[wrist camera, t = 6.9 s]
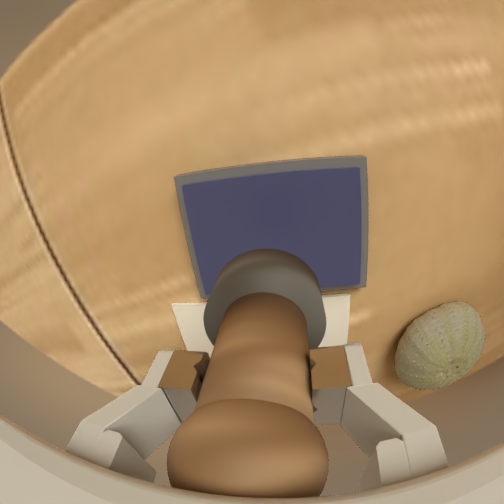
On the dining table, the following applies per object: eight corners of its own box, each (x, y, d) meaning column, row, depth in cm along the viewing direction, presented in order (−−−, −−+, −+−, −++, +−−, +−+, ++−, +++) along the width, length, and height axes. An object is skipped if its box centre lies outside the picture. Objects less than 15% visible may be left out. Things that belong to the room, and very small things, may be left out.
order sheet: (349, 293, 20) (350, 295, 20) (340, 391, 25) (341, 394, 25) (172, 303, 22) (171, 305, 22) (205, 394, 27) (205, 397, 27)
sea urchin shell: (397, 316, 19) (488, 351, 13) (429, 274, 23) (500, 298, 17) (378, 391, 22) (446, 425, 16) (412, 346, 26) (471, 370, 21)
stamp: (319, 243, 10) (375, 507, 2) (320, 334, 12) (337, 538, 4) (205, 253, 11) (85, 476, 3) (225, 339, 13) (174, 529, 4)
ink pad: (362, 155, 16) (368, 157, 15) (362, 280, 20) (367, 290, 18) (179, 174, 18) (171, 178, 17) (204, 291, 22) (199, 302, 20)
